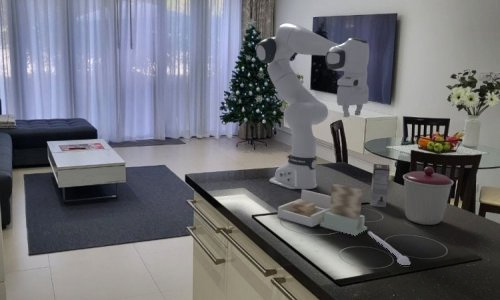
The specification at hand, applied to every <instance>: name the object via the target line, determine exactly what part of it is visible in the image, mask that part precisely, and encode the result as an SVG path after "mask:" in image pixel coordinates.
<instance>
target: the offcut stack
mask: <svg viewBox="0 0 500 300" xmlns="http://www.w3.org/2000/svg"><path fill="white" fill-rule="evenodd" d="M297 200H298V199H297ZM294 201H295V200H294ZM292 202H293V201H292ZM292 212H293V213H297V214H300V215H304V216H307V217H310V216H311V215H313V214H315V203H311V202H307V201H303V200H298V201H295V202H293V203H292Z"/></svg>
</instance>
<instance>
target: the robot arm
mask: <svg viewBox="0 0 500 300" xmlns="http://www.w3.org/2000/svg"><path fill="white" fill-rule="evenodd" d="M369 45H370V44H369V42H368V41H367V40H366V39H363V38H360V37H359V38H358V37H349V38H348V39H347V40H346V41H345V42H343V43H337V42H334V41H332V40H329V39H328V38H325V37H323V36H322V35H319V34H318V33H315V32H314V31H312V30H310V29H308V28H306V27H303V26H301V25H298V24H294V23H288V22H287V23H286V22H285V23H283V24H281V25H280V26H279V27H278V28H277V31H276V36H275V35H274V36H272V37H267V38H265V39H263V40H261V41H259V42H258V43H257V45H256V48H255V54H256V57H257V59H258V60H259V61H260V62H261V63H263V64H268V65H267V68H266V69H267V73H268V75H269V78H270V80H271V82H272V84H273V86H274V87H275V89H276V91H277V92H278V93H279V95H280V96H281V98H282V100H283V101H285V103H287V104H289V105H287V106H286V108H285V109H284V111H283V117H284V121H285V123H286V124H287V125H288V126H289V128H290V132H291V140H292V141H291V142H292V143H291V154H289V155H286V156H285V157H286V159H288V160H287V162H285V163H284V164H282V165H281V166H279V167H278V168H277V169H276V171H275V173H274V176H273V177H271V178H270V179H269V182H270V183H272V184H275V185H278V186H281V187H283V188H287V189H289V190H297V189H298V190H311V189H315V188H317V187H318V183H317V177H316V167H317V156H316V155H317V142H318V141H317V138H316V136H314V134H313V133H314V132H313V129H312V126H315V125H319V124H321V123H323V122H325V120H327V118H328V116H329V109H328V107H327V105H326V104H325V103H323V102H322V101H320V100H318V99H317V98H316V97H315V96H314V95H313V94H312V93H311V92H310V91H309V90H308V89H306V87H305V86H304V85H303V83H302V81H300V79H299V77H298V76H297V74H296V73H295V71H294V70H293V68H292V67H291V65H290V62H293V61H295V59H296V56H298V55H306V56H325V58H324V59H325V64H326V66H327V67H328V69H330V70H332V71H336V72H337V71H338V72H340V71H341V72H344V73H343V75H342V76H341V77H340V78H339V79H338V80H337V81H336V82H337V83H336V84H337V86H338V87H337V92H336V103H337V105H338V106H342V112H343V117H344V118H349V117H350V112H349V109H350V106H356V109H355V110H354V116H361V113H362V112H361V111H362V109H363V106H364V105H365V104H368V103H369V97H370V94H369V92H370V91H369V90H370V89H369V85H368V83H367V81H368V64H369V63H370V62H369V60H370V46H369Z"/></svg>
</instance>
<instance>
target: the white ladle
mask: <svg viewBox="0 0 500 300" xmlns="http://www.w3.org/2000/svg"><path fill="white" fill-rule="evenodd" d="M367 234H368V235H369V236H370V237H371V238H372V239H373V238H374V239H375V240H376V243H378V242H379V243H380V244H379V243H378V244H379V245H381V244H382V245H383V246H382V245H381V246H382V247H383V248H384V249H386V248H387V249H388V250H389V251H390V252H389V251H388V250H387V249H386V250H387V251H388V252H389V253H390V254H392V253H393V254H394V255H395V256H396V257H395V256H394V255H393V254H392V255H393V256H394V257H395V258H397V259H396V261H397V264H398V263H399V264H401V265H410V264H411V261H410V258H409V257H408V256H406V255H402V254H401V252H399V251H398V250H396V249H395V248H394V247H392V245H390V244H389V243H388V242H386V241H384V240H383V239H382V238H381V237H379V236H378V235H376V234H375V233H373V231H371V230H369V231H367ZM374 239H373V240H374ZM375 240H374V241H375ZM399 264H398V265H399ZM401 265H400V266H401Z"/></svg>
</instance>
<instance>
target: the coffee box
mask: <svg viewBox="0 0 500 300" xmlns="http://www.w3.org/2000/svg"><path fill="white" fill-rule="evenodd" d="M372 170H373V171H372V180H371V188H370V189H371V190H370V206H371V207H379V208H380V207H381V208H386V206H387V199H388V198H387V197H388V188H389V182H390V181H389V179H390V170H391V169H390V165H389V164H379V163H373V167H372Z"/></svg>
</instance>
